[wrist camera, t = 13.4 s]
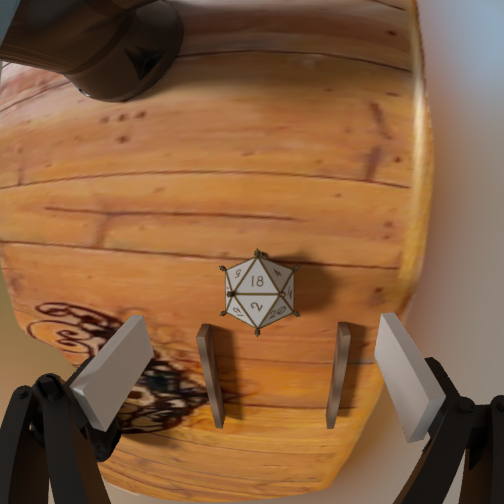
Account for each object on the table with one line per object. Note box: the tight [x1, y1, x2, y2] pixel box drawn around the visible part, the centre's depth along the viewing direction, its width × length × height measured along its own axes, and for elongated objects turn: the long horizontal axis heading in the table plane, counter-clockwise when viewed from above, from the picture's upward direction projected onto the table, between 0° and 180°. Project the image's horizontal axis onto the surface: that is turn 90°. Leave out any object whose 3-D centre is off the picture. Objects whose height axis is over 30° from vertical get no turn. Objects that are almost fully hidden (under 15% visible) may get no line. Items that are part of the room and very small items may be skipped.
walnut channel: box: [196, 322, 351, 429], centre depth 35 cm, size 18×18×3 cm
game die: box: [219, 248, 301, 337], centre depth 29 cm, size 9×8×10 cm
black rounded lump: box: [31, 375, 123, 462], centre depth 39 cm, size 20×21×13 cm
